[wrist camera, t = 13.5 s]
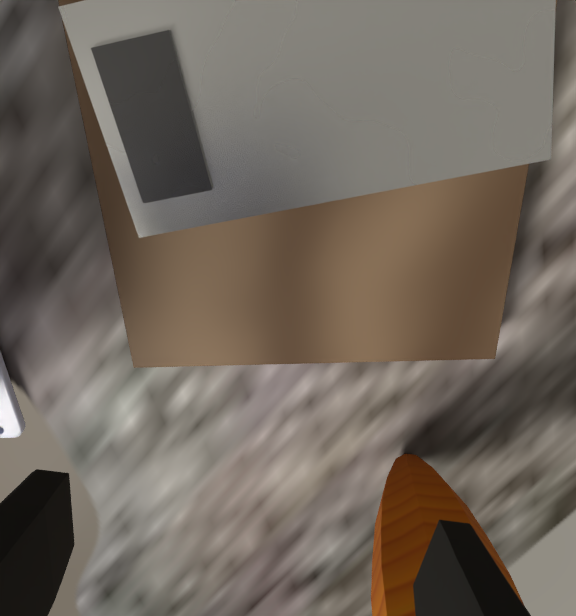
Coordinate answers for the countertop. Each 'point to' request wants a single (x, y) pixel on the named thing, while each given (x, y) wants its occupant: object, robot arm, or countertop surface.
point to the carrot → (413, 532)
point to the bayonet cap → (308, 98)
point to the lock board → (316, 273)
